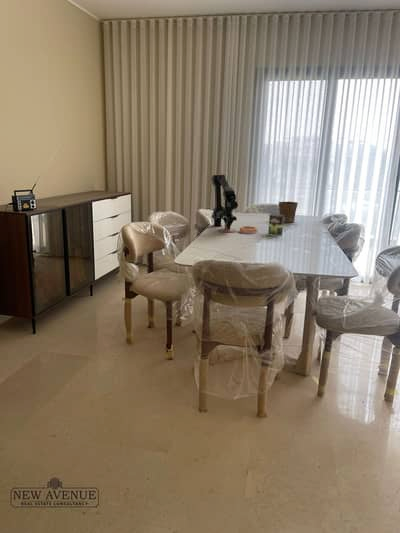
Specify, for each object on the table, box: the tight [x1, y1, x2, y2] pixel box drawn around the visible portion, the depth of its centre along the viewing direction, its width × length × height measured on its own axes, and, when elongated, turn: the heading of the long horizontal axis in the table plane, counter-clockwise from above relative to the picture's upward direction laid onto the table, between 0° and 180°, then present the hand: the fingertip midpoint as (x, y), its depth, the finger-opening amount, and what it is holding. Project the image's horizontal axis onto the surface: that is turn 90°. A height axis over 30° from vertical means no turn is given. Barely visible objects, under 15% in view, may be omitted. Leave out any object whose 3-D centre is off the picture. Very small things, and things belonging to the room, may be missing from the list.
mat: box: [214, 228, 239, 234], centre depth 287 cm, size 14×14×1 cm
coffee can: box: [267, 213, 284, 237], centre depth 278 cm, size 10×10×14 cm
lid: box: [218, 222, 237, 234], centre depth 286 cm, size 13×13×6 cm
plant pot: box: [278, 201, 299, 224], centre depth 328 cm, size 16×16×16 cm
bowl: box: [239, 225, 259, 235], centre depth 285 cm, size 12×12×4 cm
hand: (227, 228), depth 287 cm, fingers closed on lid, 3 cm apart
